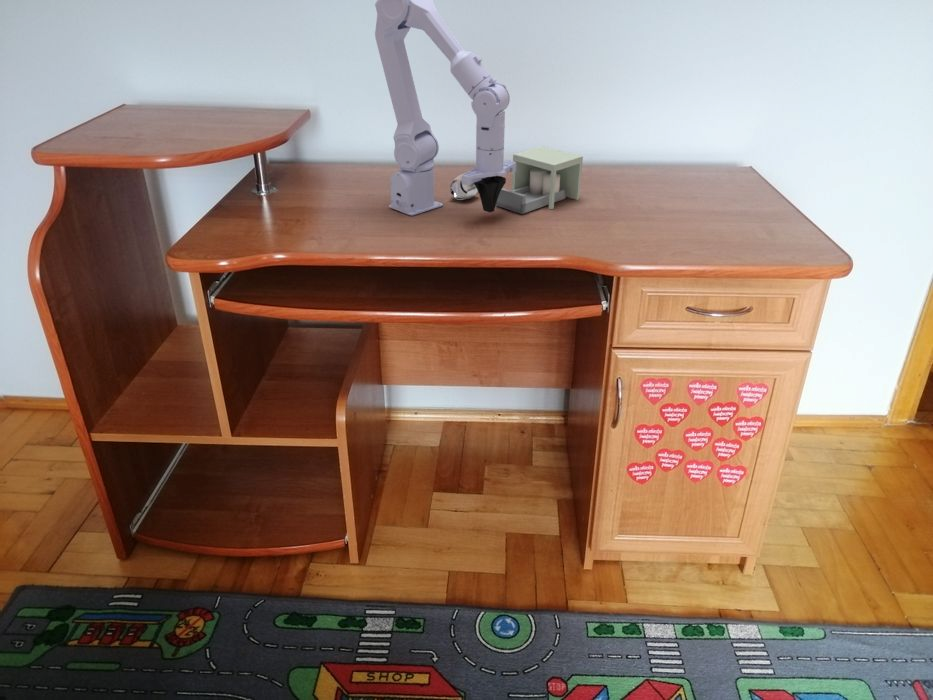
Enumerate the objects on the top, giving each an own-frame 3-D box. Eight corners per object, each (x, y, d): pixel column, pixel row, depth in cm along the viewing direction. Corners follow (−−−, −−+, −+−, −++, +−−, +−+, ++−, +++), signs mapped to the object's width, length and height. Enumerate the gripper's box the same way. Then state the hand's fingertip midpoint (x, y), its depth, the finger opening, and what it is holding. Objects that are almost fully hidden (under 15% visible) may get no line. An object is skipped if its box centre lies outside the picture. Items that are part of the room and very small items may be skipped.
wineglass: (488, 194, 169) (463, 207, 160) (469, 181, 170) (444, 193, 161) (498, 174, 165) (473, 185, 156) (478, 160, 166) (453, 171, 157)
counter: (551, 209, 156) (554, 165, 151) (511, 196, 163) (513, 154, 158) (579, 199, 162) (582, 156, 157) (539, 187, 169) (541, 146, 164)
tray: (522, 214, 153) (523, 188, 150) (495, 205, 157) (496, 180, 155) (565, 198, 162) (567, 174, 159) (538, 190, 166) (540, 166, 164)
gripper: (479, 157, 137) (478, 223, 144) (528, 144, 146) (525, 207, 153) (454, 150, 141) (454, 215, 148) (503, 138, 150) (501, 199, 157)
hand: (488, 210), depth 151 cm, fingers closed
